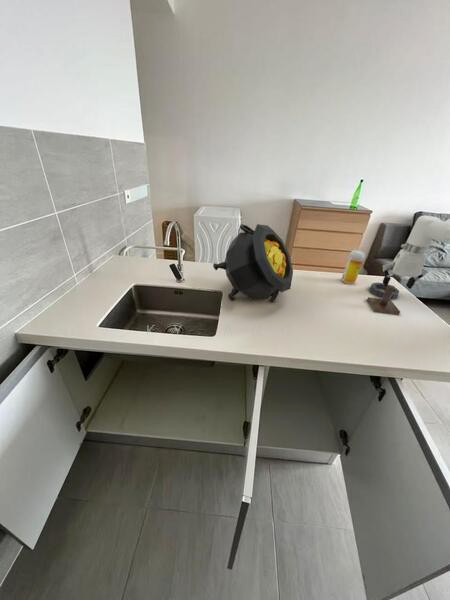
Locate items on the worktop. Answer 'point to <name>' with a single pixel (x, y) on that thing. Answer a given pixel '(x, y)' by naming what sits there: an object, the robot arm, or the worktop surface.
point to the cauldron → (257, 264)
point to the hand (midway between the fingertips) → (396, 285)
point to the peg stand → (384, 302)
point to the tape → (375, 290)
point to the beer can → (353, 266)
